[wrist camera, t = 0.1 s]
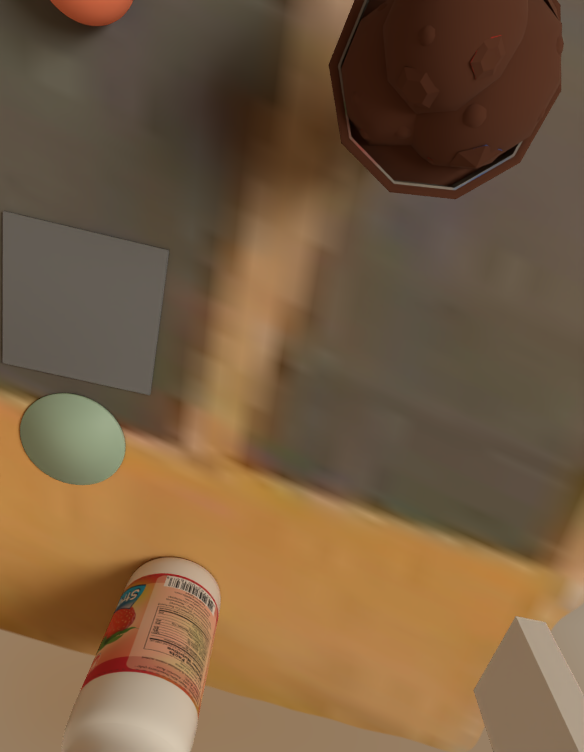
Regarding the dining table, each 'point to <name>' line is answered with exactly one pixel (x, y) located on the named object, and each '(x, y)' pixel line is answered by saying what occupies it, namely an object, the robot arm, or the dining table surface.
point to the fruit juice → (149, 664)
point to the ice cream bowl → (445, 88)
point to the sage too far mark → (72, 438)
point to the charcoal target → (81, 303)
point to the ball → (93, 10)
